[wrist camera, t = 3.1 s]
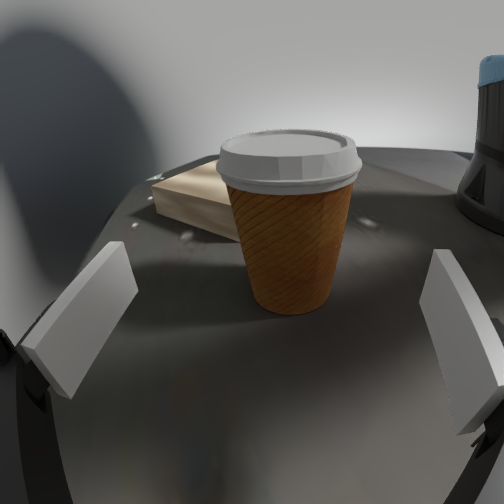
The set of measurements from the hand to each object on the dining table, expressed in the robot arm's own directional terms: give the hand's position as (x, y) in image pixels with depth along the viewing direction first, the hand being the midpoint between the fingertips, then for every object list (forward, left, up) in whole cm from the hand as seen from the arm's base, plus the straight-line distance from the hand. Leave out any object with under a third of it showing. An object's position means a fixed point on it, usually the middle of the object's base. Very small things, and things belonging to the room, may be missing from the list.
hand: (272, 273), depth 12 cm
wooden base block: (-20, -21, -9) cm, 30 cm away
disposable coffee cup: (-9, -5, -9) cm, 13 cm away
